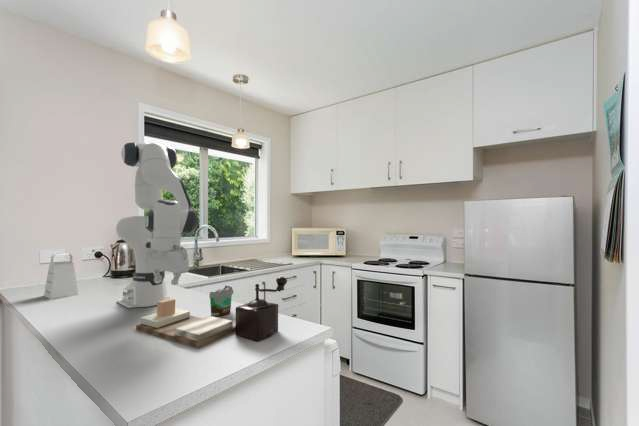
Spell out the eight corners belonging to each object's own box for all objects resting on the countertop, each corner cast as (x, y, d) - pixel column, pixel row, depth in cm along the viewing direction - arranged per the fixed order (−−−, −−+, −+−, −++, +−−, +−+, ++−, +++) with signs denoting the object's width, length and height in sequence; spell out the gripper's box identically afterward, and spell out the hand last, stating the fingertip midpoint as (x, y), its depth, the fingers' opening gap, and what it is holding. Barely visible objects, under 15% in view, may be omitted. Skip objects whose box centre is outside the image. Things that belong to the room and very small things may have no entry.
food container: (223, 319, 114) (223, 293, 114) (208, 318, 115) (209, 292, 116) (238, 309, 126) (239, 286, 126) (225, 309, 127) (225, 285, 128)
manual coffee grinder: (260, 343, 93) (260, 284, 94) (234, 335, 99) (234, 280, 99) (289, 327, 107) (289, 276, 107) (264, 321, 112) (265, 273, 113)
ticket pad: (135, 329, 104) (135, 319, 104) (177, 316, 118) (177, 307, 118) (198, 348, 89) (198, 336, 89) (236, 330, 103) (236, 320, 103)
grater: (43, 295, 147) (44, 254, 147) (70, 291, 155) (71, 252, 155) (50, 299, 141) (51, 256, 141) (78, 294, 149) (78, 254, 149)
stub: (140, 323, 105) (140, 303, 105) (174, 312, 116) (174, 294, 116) (156, 327, 101) (157, 306, 101) (189, 316, 112) (190, 297, 112)
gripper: (194, 246, 107) (193, 285, 107) (157, 241, 116) (157, 277, 117) (178, 247, 101) (177, 288, 102) (141, 243, 111) (140, 280, 111)
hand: (166, 282), depth 109 cm, fingers open, 8 cm apart
